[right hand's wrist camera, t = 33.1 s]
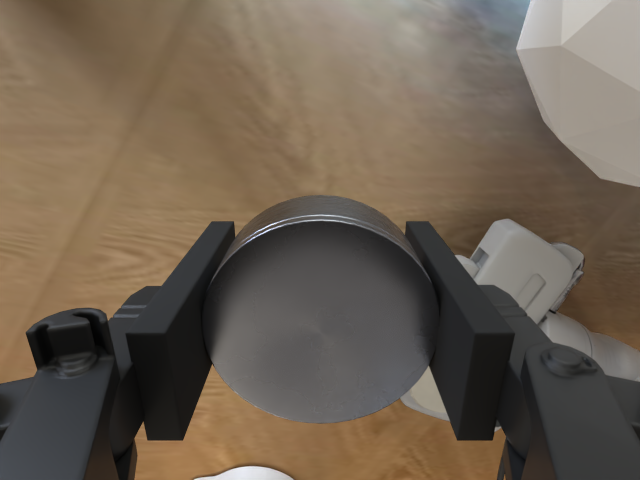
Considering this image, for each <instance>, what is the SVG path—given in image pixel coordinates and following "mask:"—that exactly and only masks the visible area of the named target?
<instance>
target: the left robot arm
mask: <svg viewBox="0 0 640 480" xmlns="http://www.w3.org/2000/svg"><path fill="white" fill-rule="evenodd" d="M455 256H456V258H457V259H458V260H459V261H460V263H461V264H462V265H463V267H464V268H465V269H466V270H467V272H468V273H469V274H470V276H471V277H472V278H473V279H474V281H475V282H476V283H477V285H495V286H497V287H498V288H500V289H502V290H504V291H505V292H507V293H509V294H510V295H511V296H512V297H513V298H514V300H515V301H516V302H517V303H518V304H519V307H522V308H523V310H524V311H525V312H526V313H527V316H530V317H531V319H532V320H533V321H534V322H535V323H536V324H537V325H538V326H539V327H540V329H541V330H542V331H543V332H544V333H545V334H546V335H547V336H548V338H549V339H550V340H551V341H552V342H553V343H558V344H562V345H566V346H570V347H572V348H574V349H577V350H579V351H581V352H583V353H585V354H586V355H588V356H589V357H591V358H592V359H594V360H595V361H596V362H597V363H598V364H599V366H600V367H601V368H602V369H603V371H604V373H605V375H609V376H613V377H618V378H623V379H628V380H633V381H638V382H640V351H638V350H636V349H635V348H633V347H631V346H629V345H627V344H625V343H623V342H621V341H619V340H617V339H615V338H613V337H610V336H608V335H605V334H602V333H596V332H590V331H589V330H588V329H587V328H586V327H585V326H584V325H582V324H581V323H579V322H578V321H576V320H574V319H572V318H570V317H568V316H565V315H563V314H561V313H559V312H557V310H558V309H559V307H560V306H561V305H562V304H563V302H564V301H565V300H566V298H567V296H568V295H569V293H570V291H571V290H572V288H573V287H574V286H575V285H577V284H578V283H579V282H580V280H581V279H582V277H583V275H584V272H583V271H582V269H583V267H584V262H585V260H584V255H583V254H582V252H581V251H580V250H578V249H577V248H575V247H573V246H571V245H569V244H567V243H564V242H552V243H547V242H546V241H545V240H543V239H542V238H540V237H539V236H537V235H536V234H534V233H533V232H531V231H530V230H528V229H526V228H525V227H523V226H521V225H520V224H518V223H516V222H515V221H513V220H511V219H503V220H498V221H495V222H494V223H493V224H492V225H491V227H490V228H489V230H488V231H487V233H486V234H485V236H484V237H483V239H482V240H481V242H480V244H479V245H478V247H477V248H476V250H475V251H474V253H473V254H472V256H471V257H470V259H468V258H466V257H464V256H462V255H455ZM577 267H578V268H577ZM400 399H401V401H402V402H403V404H404V405H406V406H407V407H409V408H412V409H414V410H416V411H419V412H421V413H424V414H427V415H430V416H433V417H436V418H439V419H442V420H446V421H450V420H449V417H448V415H447V413H439V412H433V411H430V410H427V409H426V408H424V407H423V408H422V407H421V406H419V405H418V404H417V403H416V402H415V401H414V399H413V398H412V397H411V394H410V391H408V392H407V393H405V394H404V395H403V396H402V397H401V398H400ZM500 428H502V427H501V425H500V424H499V422H498V420H497V422H496V427H495V431H497V430H499V429H500ZM495 431H494V432H495ZM194 480H294V479H292V478H291V477H289V476H288V475H286V474H284V473H282V472H279V471H277V470H274V469H270V468H266V467H258V466H247V467H239V468H235V469H231V470H229V471H226V472H224V473H222V474H219V475H217V476H214V477H202V478H197V479H194Z"/></svg>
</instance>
